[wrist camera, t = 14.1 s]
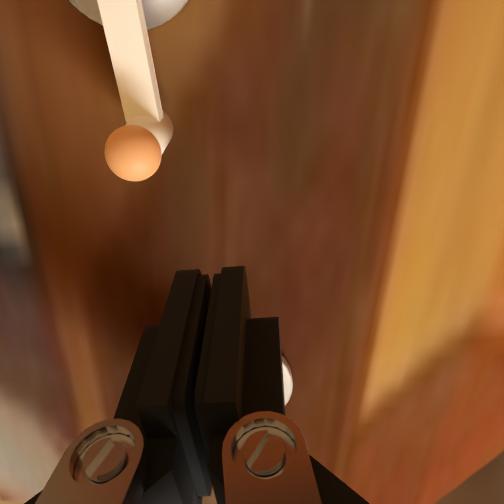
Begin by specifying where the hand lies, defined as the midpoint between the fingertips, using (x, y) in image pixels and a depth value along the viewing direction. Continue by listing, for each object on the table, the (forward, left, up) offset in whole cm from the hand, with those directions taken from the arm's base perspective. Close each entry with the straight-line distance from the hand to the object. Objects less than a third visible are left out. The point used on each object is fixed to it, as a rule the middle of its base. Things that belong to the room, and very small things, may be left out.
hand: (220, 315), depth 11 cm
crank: (+5, +6, -20) cm, 21 cm away
